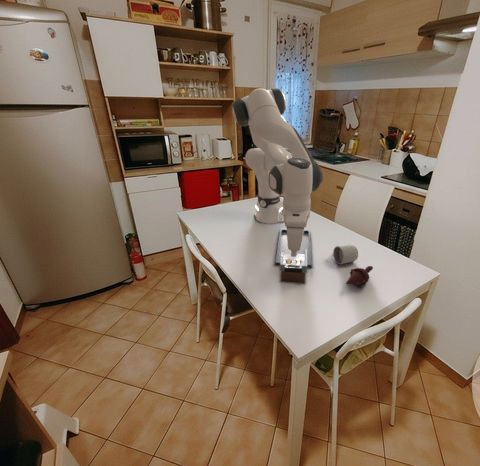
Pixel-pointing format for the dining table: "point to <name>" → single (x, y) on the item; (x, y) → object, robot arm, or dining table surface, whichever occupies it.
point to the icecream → (359, 276)
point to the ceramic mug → (345, 254)
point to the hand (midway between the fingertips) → (294, 248)
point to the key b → (298, 261)
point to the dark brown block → (292, 277)
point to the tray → (284, 244)
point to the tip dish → (293, 262)
